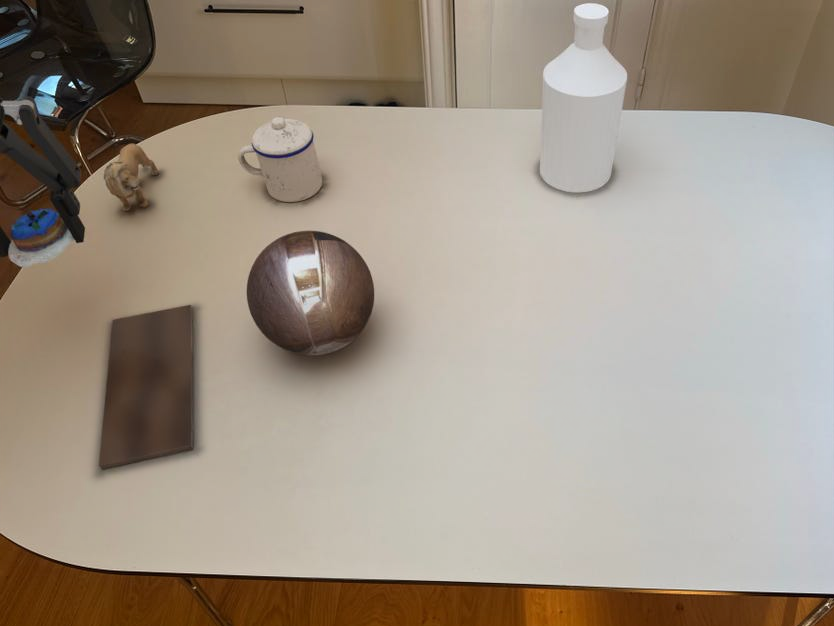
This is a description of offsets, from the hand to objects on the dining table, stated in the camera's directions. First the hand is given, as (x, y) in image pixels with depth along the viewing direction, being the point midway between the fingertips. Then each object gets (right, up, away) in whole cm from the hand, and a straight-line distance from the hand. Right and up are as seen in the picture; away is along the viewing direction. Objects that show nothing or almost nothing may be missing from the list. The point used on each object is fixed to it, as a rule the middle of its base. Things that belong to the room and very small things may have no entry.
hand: (43, 242), depth 84 cm
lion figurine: (-1, +12, +27) cm, 29 cm away
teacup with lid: (+21, +13, +28) cm, 37 cm away
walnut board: (+11, -17, +3) cm, 20 cm away
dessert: (0, 0, 0) cm, 0 cm away
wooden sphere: (+32, -11, +8) cm, 34 cm away
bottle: (+67, +16, +29) cm, 75 cm away
